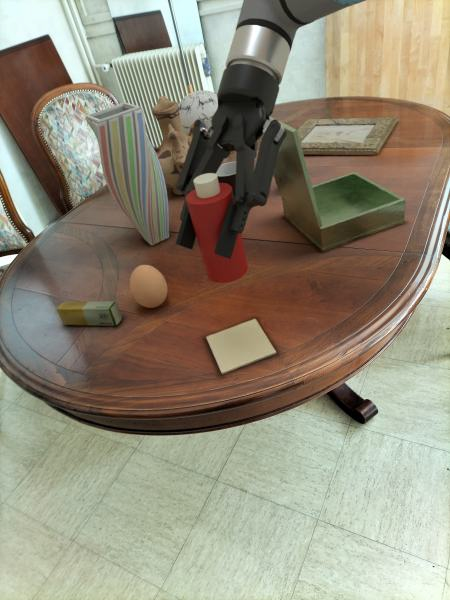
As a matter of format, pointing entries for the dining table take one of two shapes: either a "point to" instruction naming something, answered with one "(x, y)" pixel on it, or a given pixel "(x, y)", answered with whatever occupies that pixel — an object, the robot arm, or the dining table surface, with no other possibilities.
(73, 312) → the medication box
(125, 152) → the vase
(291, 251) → the dining table surface
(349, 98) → the dining table surface
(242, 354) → the mat
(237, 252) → the ketchup
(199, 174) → the robot arm
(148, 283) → the egg
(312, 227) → the green square tray
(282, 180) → the lid
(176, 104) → the ceramic vessel
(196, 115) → the decorative sphere
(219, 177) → the coffee mug
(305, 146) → the picture frame
